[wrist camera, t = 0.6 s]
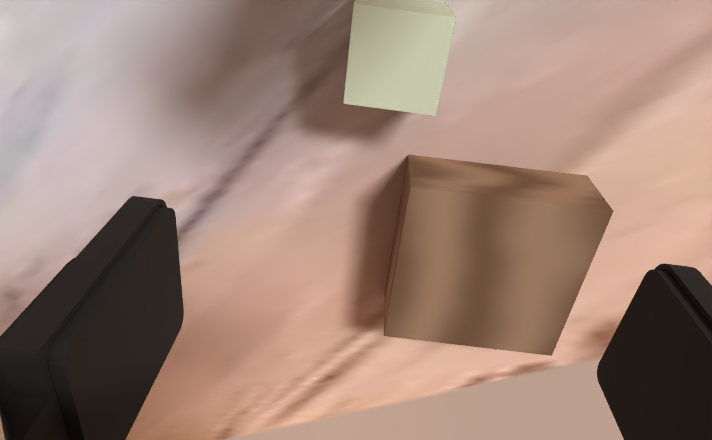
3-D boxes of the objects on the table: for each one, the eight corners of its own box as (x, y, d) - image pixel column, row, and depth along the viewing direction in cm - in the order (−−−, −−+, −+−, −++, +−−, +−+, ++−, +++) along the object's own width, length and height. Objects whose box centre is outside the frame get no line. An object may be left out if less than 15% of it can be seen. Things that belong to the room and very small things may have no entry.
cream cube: (446, 1, 29) (456, 17, 25) (429, 88, 31) (435, 115, 27) (359, -10, 29) (353, 3, 24) (349, 77, 31) (343, 103, 27)
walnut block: (585, 173, 34) (613, 211, 30) (534, 308, 40) (551, 355, 36) (408, 152, 34) (410, 187, 30) (384, 291, 40) (384, 335, 36)
